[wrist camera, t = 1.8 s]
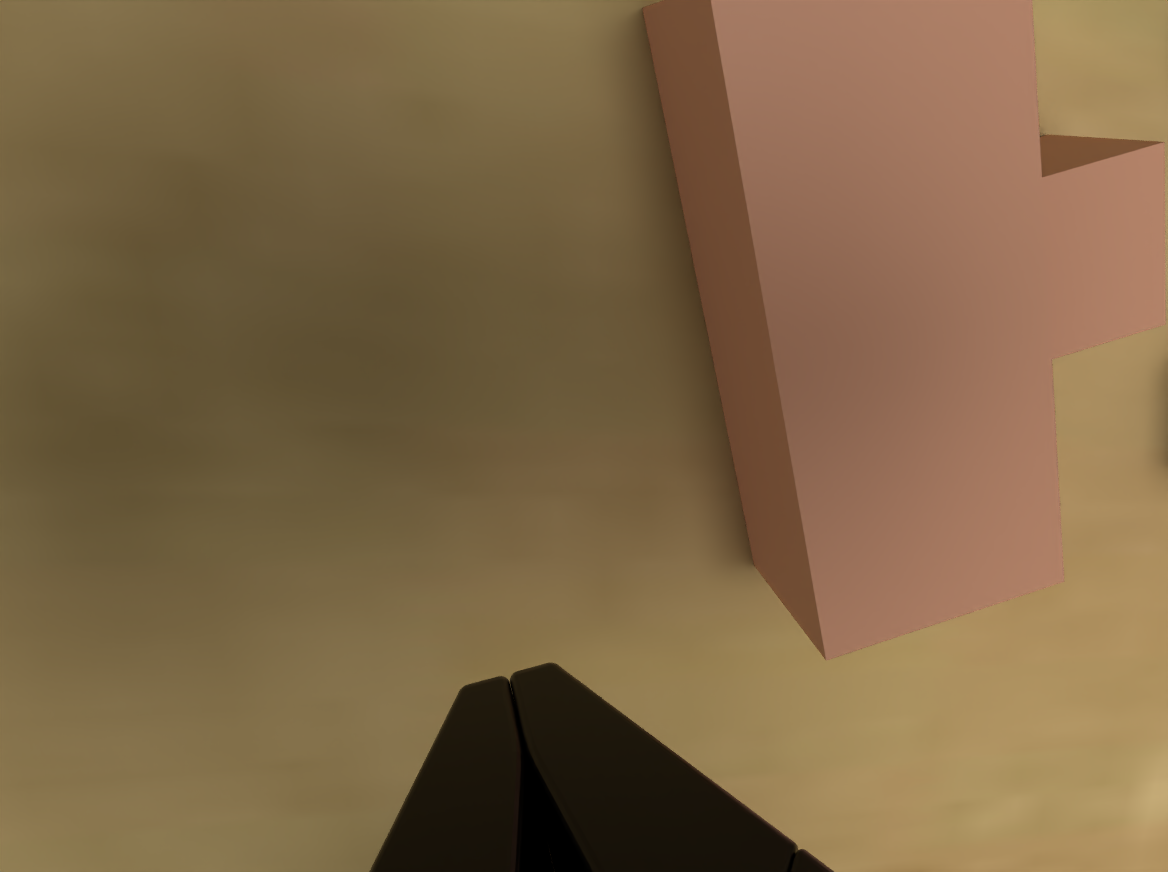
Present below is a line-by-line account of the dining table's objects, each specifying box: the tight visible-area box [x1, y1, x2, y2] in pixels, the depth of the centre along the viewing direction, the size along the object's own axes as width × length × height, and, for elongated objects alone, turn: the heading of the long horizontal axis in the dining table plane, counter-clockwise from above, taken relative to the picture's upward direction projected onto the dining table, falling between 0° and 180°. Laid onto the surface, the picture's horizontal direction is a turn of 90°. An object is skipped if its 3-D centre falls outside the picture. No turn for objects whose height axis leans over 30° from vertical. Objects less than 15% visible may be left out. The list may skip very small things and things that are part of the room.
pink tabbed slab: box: [642, 0, 1166, 660], centre depth 18 cm, size 12×8×4 cm, turn 14°
